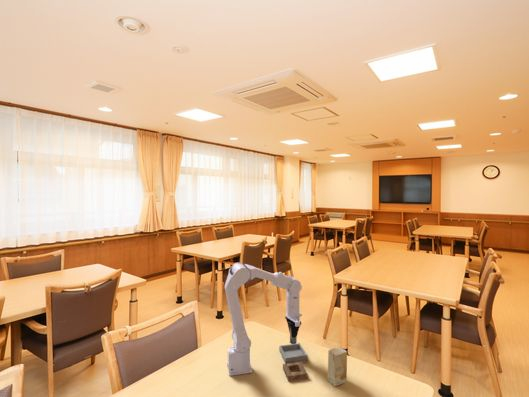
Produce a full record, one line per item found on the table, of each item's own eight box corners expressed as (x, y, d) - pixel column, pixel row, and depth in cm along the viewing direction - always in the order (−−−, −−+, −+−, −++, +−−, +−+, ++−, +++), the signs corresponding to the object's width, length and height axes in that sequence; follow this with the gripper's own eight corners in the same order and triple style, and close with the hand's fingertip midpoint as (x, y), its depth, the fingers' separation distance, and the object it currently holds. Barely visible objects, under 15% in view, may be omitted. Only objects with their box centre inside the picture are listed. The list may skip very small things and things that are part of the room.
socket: (288, 381, 112) (288, 376, 111) (282, 368, 119) (282, 364, 119) (307, 378, 113) (307, 373, 113) (300, 366, 121) (300, 361, 121)
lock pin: (291, 344, 125) (290, 326, 125) (289, 340, 128) (288, 323, 128) (297, 343, 126) (297, 325, 125) (295, 340, 129) (295, 322, 128)
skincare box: (334, 387, 108) (334, 355, 108) (327, 380, 112) (327, 350, 112) (347, 381, 111) (347, 351, 111) (339, 375, 115) (339, 345, 114)
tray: (285, 363, 123) (285, 358, 123) (279, 350, 132) (279, 345, 132) (307, 360, 125) (307, 355, 125) (299, 348, 135) (299, 343, 134)
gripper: (307, 310, 120) (307, 342, 121) (296, 298, 134) (296, 326, 135) (291, 312, 119) (291, 344, 119) (282, 299, 133) (282, 327, 133)
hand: (293, 334), depth 127 cm, fingers closed on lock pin, 3 cm apart
